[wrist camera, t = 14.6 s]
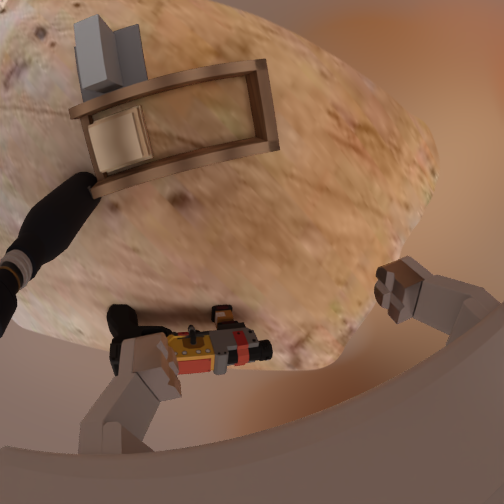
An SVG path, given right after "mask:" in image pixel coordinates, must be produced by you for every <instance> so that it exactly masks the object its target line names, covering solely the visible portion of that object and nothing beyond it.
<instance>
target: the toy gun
mask: <svg viewBox="0 0 504 504" xmlns="http://www.w3.org/2000/svg"><path fill="white" fill-rule="evenodd" d="M211 320H212V322H215V325H216V328H217V330H215V331H203V332H200V331H198V330H195V328H194V327H193V325H189V327H188V332H179V333H176V332H172V331H171V330H170V329H168V328H165V327H163V326H138V321H137V314H136V313H135V310H134V309H132V308H131V307H129V306H128V305H127V304H113V305H112V306H111V307H110V308H109V310H108V312H107V322H108V326H109V330H110V332H111V334H112V335H113V337H114V338H113V339H112V343H110V362H111V365H112V368H113V371H114V374H115V376H118V373H119V363H120V354H121V346H122V342H123V341H124V340H126V339H131V338H136V337H140V336H145V335H150V334H155V333H160V332H163V333H164V334H165V336H166V337H167V339H168V346H170V347H172V348H173V350H174V352H175V355H176V357H177V361H178V365H179V373H178V375H179V374H191V373H201V372H210V371H211V370H213V372H214V374H216V375H222V374H225V373H226V370H227V366H229V365H235V366H239V365H245V363H250V362H255V360H259V361H263V360H270V359H271V358H272V354H273V350H272V345H271V343H270V341H269V340H261V341H258V339H257V337H256V335H255V333H254V330H251V329H248V328H246V327H245V324H244V322H242V323H238V321H234V320H233V314H232V306H231V305H218V306H214V307H212V318H211Z"/></svg>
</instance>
